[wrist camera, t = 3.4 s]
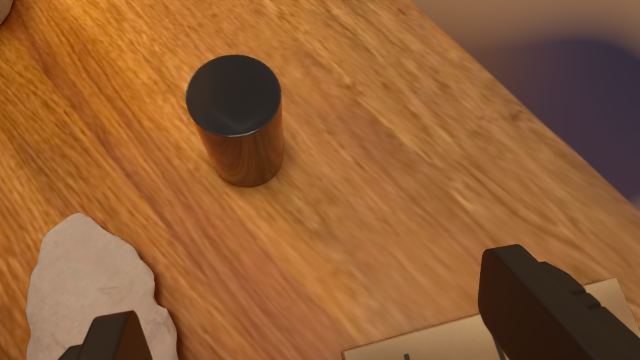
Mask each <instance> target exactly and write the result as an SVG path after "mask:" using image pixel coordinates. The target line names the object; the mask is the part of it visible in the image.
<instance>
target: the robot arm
mask: <svg viewBox="0 0 640 360" xmlns="http://www.w3.org/2000/svg"><path fill="white" fill-rule="evenodd" d="M478 308H479V312H480V315H481V318H482V320H483V322H484V324H485V326H486V328H487V329H488V330H489V332H490V333H491V335H492V336H493V338H494V339H495V340H496V342H497V343H498V345H499V346H500V347H501V349H502V350H503V352H504V353H505V354H506V356H507V357H508V359H509V360H640V338H639V337H638V336H637V335H636V334H635V333H634V332H633V331H631V330H630V329H629V328H628V327H627V326H626V325H625V324H624V323H623V322H621V321H620V320H619V319H618V318H617V317H616V316H615V315H614V314H613V313H611V312H610V311H609V310H608V309H607V308H606V307H605V306H603V307H602V306H601V303H600V302H599V301H598V300H597V299H596V298H595V297H594V296H593V295H591V294H590V293H587V292H586V289H585V288H584V287H583V286H581V285H580V284H579V283H578V282H577V281H576V280H575V279H574V278H573V277H571V276H570V275H569V274H568V273H566V272H564V271H562V270H560V269H559V268H557V267H555V266H553V265H551V264H549V263H547V262H545V261H544V262H538V261H537V260H536V259H535V258H534V257H533V256H532V255H531V254H530V253H529V252H528V251H527V250H526V249H524V248H523V247H522V246H521V245H518V244H513V245H508V246H502V247H496V248H491V249H486V250H485V251H484V252H483V255H482V262H481V272H480V282H479V292H478ZM58 360H153V358H152V355H151V352H150V349H149V346H148V344H147V341H146V338H145V335H144V332H143V329H142V326H141V324H140V321H139V318H138V315H137V314H136V312H135V311H134V310H130V311H124V312H118V313H113V314H107V315H101V316H97V317H95V318H94V319H93V321H92V322H91V325H90V327H89V329H88V332H87V334H86V336H85V339H84V341H83V343H82V344H80V345H74V346H70V347H69V348H68V349H67V350H66V351H65V352H64V353H63V354H62V355H61V356H60V357H59V359H58Z"/></svg>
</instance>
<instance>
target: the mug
mask: <svg viewBox="0 0 640 360" xmlns="http://www.w3.org/2000/svg"><path fill="white" fill-rule="evenodd" d="M12 2H13V0H0V24H1V23H2V22H3V20H4V19H5V18H6V16H7V15H8V14H9V12H10V9H11V6H12Z"/></svg>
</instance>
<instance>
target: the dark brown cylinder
mask: <svg viewBox="0 0 640 360" xmlns="http://www.w3.org/2000/svg"><path fill="white" fill-rule="evenodd" d="M186 105H187V109H188V112H189V114H190V116H191V118H192V120H193V123H194V125H195V127H196V129H197V131H198V133H199V136H200V138H201V140H202V142H203V144H204V146H205V149H206V151H207V153H208V155H209V157H210V159H211V161H212V164H213V166H214V168H215V170H216V172H217V173H218V174H219V176H220V177H221V178H223V179H224V180H225V181H227V182H228V183H230V184H232V185H235V186H239V187H255V186H258V185H261V184H264V183H266V182H267V181H269V180H270V179H272V178H273V177H274V176H275V175H276V173H277V172H278V171H279V169H280V167H281V165H282V162H283V158H284V144H283V121H282V98H281V87H280V84H279V81H278V79H277V77H276V75H275V74H274V73H273V71H272V70H271V69H270V68H269V67H268V66H267V65H265V64H264V63H262V62H261V61H259V60H257V59H255V58H252V57H249V56H244V55H225V56H221V57H217V58H215V59H212V60H210V61H208V62H207V63H205V64H204V65H202V66H201V67H200V68H199V69H198V70H197V71H196V72H195V73H194V75H193V76H192V77H191V79H190V81H189V83H188V86H187V90H186Z"/></svg>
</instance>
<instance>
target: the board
mask: <svg viewBox="0 0 640 360" xmlns="http://www.w3.org/2000/svg"><path fill="white" fill-rule="evenodd" d="M581 286H583V287H584V288H585V289H586V292H587V293H590V294H591V295H593V296H594V297H595V298H596V299H597V300H598V301H599V302H600V303H601V306H602V307H603V306H605V307H606V308H607V309H608V310H609V311H610V312H611V313H613V314H614V315H615V316H616V317H617V318H618V319H619V320H620V321H621V322H623V323H624V324H625V325H626V326H627V327H628V328H629V329H630V330H631V331H633V332H634V333H635V334H636V335H637V336H638V337H639V338H640V329H639V327H638V325H637V322H636V320H635V318H634V316H633V314H632V311H631V309H630V307H629V305H628V303H627V301H626V298H625V296H624V294H623V292H622V290H621V288H620V285H619V283H618V281H617V279H616V278H611V279H605V280H600V281H596V282H592V283H589V284H585V285H581ZM341 355H342V359H343V360H509V359H508V357H507V356H506V354H505V353H504V352H503V350H502V349H501V347H500V346H499V345H498V343H497V342H496V340H495V339H494V338H493V336H492V335H491V333H490V332H489V330H488V329H487V328H486V326H485V324H484V322H483V320H482V318H481V315H480V313H478V314H475V315H471V316H467V317H464V318H460V319H456V320H453V321H449V322H445V323H442V324H438V325H434V326H431V327H427V328H423V329H420V330H416V331H412V332H409V333H405V334H401V335H398V336H394V337H390V338H387V339H383V340H379V341H376V342H372V343H368V344H364V345H361V346H357V347H353V348H350V349H346V350H342V351H341Z"/></svg>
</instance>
